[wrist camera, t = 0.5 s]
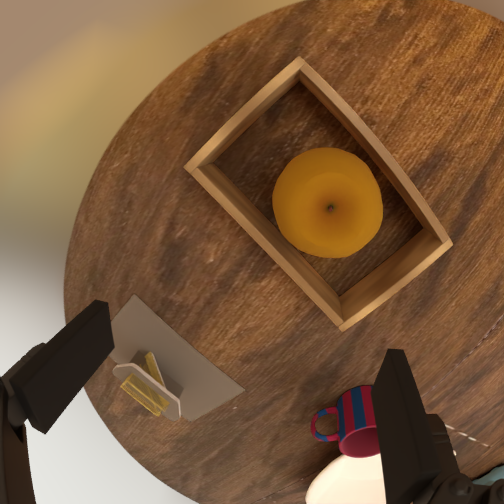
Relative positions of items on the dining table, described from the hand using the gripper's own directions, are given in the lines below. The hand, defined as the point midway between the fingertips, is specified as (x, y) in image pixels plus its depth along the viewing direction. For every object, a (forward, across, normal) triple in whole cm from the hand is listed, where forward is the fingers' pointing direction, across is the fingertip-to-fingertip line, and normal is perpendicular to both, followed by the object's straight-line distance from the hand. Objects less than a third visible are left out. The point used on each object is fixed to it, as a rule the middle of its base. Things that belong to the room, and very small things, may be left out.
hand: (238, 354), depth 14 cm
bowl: (+18, +21, -34) cm, 44 cm away
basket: (+18, +4, +5) cm, 19 cm away
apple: (+18, +4, +5) cm, 19 cm away
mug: (+18, +12, -20) cm, 30 cm away
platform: (+18, -12, -19) cm, 29 cm away
